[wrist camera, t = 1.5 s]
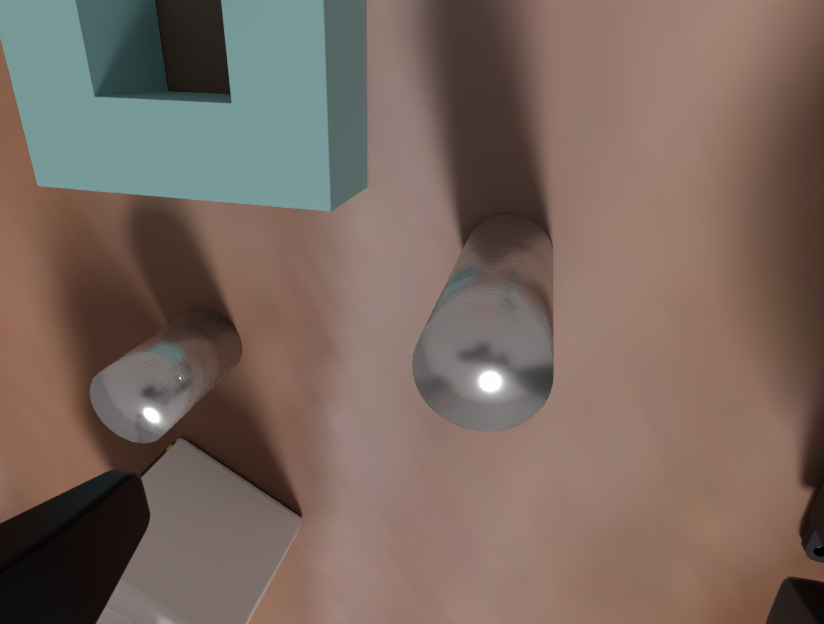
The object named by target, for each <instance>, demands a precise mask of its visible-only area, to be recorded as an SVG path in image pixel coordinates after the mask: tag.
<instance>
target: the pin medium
mask: <svg viewBox="0 0 824 624" xmlns="http://www.w3.org/2000/svg"><path fill="white" fill-rule="evenodd" d="M412 365H413V375H414V380H415V383H416V386H417V388H418V390H419V392H420V394H421V396H422V397H423V399H424V400H425V401H426V403H427V404H428V405H429V406H430V407H431V408H432V409H433V410H434V411H435V412H436V413H437V414H439V415H440V416H441V417H443V418H444V419H446V420H448V421H449V422H451V423H453V424H456V425H458V426H460V427H463V428H467V429H471V430H476V431H501V430H506V429H510V428H513V427H516V426H518V425H520V424H522V423H524V422H526V421H527V420H529V419H530V418H532V417H533V416H534V415H535V414H536V413H537V412H539V410H540V409H541V408H542V407H543V405H544V404H545V402H546V401H547V399H548V397H549V394H550V392H551V388H552V384H553V248H552V244H551V241H550V239H549V237H548V235H547V233H546V232H545V230H544V229H543V228H542V227H541V226H540V225H539V224H538V223H536V222H535V221H534V220H532V219H530V218H528V217H526V216H523V215H519V214H514V213H504V214H498V215H494V216H491V217H489V218H487V219H485V220H484V221H482V222H481V223H479V224H478V225H477V226H476V227H475V228H474V230H473V231H472V232H471V234H470V235H469V237H468V239H467V241H466V243H465V245H464V247H463V249H462V252H461V254H460V256H459V258H458V260H457V262H456V264H455V266H454V268H453V270H452V272H451V274H450V276H449V278H448V280H447V283H446V285H445V287H444V289H443V291H442V293H441V295H440V297H439V299H438V301H437V303H436V305H435V307H434V309H433V311H432V314H431V316H430V318H429V320H428V322H427V324H426V326H425V328H424V330H423V332H422V334H421V336H420V338H419V340H418V343H417V345H416V347H415V351H414V355H413V363H412Z"/></svg>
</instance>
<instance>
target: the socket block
mask: <svg viewBox="0 0 824 624" xmlns="http://www.w3.org/2000/svg"><path fill="white" fill-rule="evenodd" d="M221 4H222V13H223V23H224V33H225V43H226V53H227V63H228V72H229V82H230V92H231V94H218V93H195V92H173V91H168V86H167V80H166V73H165V66H164V59H163V52H162V45H161V38H160V31H159V24H158V18H157V11H156V4H155V0H0V38H1V42H2V46H3V50H4V54H5V58H6V62H7V66H8V70H9V74H10V78H11V82H12V86H13V90H14V94H15V98H16V102H17V105H18V109H19V113H20V117H21V121H22V125H23V129H24V133H25V137H26V141H27V145H28V149H29V153H30V157H31V161H32V165H33V169H34V173H35V177H36V181H37V185H38V186H43V187H55V188H66V189H78V190H90V191H101V192H113V193H124V194H136V195H147V196H159V197H170V198H182V199H193V200H205V201H217V202H228V203H240V204H251V205H263V206H274V207H286V208H297V209H309V210H320V211H332V210H334V209H335V208H337V207H338V206H340V205H341V204H343V203H344V202H346V201H347V200H349V199H350V198H352V197H353V196H355V195H356V194H358V193H359V192H361V191H362V190H364V189H365V188H367V112H366V0H221Z"/></svg>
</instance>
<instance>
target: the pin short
mask: <svg viewBox="0 0 824 624" xmlns="http://www.w3.org/2000/svg"><path fill="white" fill-rule="evenodd" d="M241 354H242V345H241V340H240V337H239V335H238V333H237V331H236V329H235V328H234V327H233V325H232V324H231V323H230V322H229V321H228V320H227V319H226V318H224V317H223V316H222V315H220V314H218V313H216V312H214V311H211V310H207V309H194V310H191V311H189V312H187V313H185V314H184V315H182V316H181V317H180V318H178V319H177V320H175V321H174V322H172V323H171V324H169V325H168V326H166V327H165V328H163V329H162V330H160V331H159V332H158V333H156V334H155V335H153V336H152V337H150V338H149V339H147V340H146V341H144V342H143V343H141V344H140V345H139V346H137V347H136V348H134V349H133V350H131V351H130V352H128V353H127V354H125V355H124V356H122V357H121V358H119V359H118V360H117V361H115V362H114V363H112V364H111V365H109V366H108V367H106V368H105V369H103V370H102V371H100V372H99V373H98V374H97V375H96V376H95V377H94V378H93V380H92V382H91V385H90V399H91V403H92V406H93V408H94V410H95V412H96V414H97V415H98V417H99V418H100V420H101V421H102V422H103V423H104V424H105V425H106V426H107V427H108V428H109V429H110V430H111V431H113V432H114V433H115V434H117V435H119V436H120V437H122V438H124V439H126V440H129V441H132V442H136V443H151V442H154V441H156V440H158V439H160V438H161V437H162V436H163V435H164V434H165V433H166V432H167V431H168V430H169V429H170V428H171V427H172V426H173V425H175V424H176V423H177V422H178V421H179V420H180V419H181V418H182V417H183V416H184V415H185V414H186V413H187V412H188V411H189V410H190V409H191V408H192V407H193V406H194V405H195V404H196V403H197V402H199V401H200V400H201V399H202V398H203V397H204V396H205V395H206V394H207V393H208V392H209V391H210V390H211V389H212V388H213V387H214V386H215V385H216V384H217V383H218V382H219V381H220V380H222V379H223V378H224V377H225V376H226V375H227V374H228V373H229V372H230V371H231V370H232V369H233V368H234V367H235V366H236V365H237V364H238V362H239V360H240V358H241Z"/></svg>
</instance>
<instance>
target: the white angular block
mask: <svg viewBox="0 0 824 624" xmlns="http://www.w3.org/2000/svg"><path fill="white" fill-rule="evenodd" d="M139 476H140V477H141V479H142V482H143V486H144V489H145V493H146V497H147V501H148V505H149V509H150V521H149V525H148V528H147V530H146V532H145V534H144V536H143V538H142V540H141V541H140V543H139V545H138V547H137V549H136V551H135V553H134V555H133V556H132V558H131V560H130V562H129V564H128V566H127V568H126V569H125V571H124V573H123V575H122V577H121V579H120V581H119V583H118V584H117V586H116V588H115V590H114V592H113V594H112V596H111V597H110V599H109V601H108V603H107V605H106V607H105V609H104V610H103V612H102V614H101V616H100V617H99V619H98V621H97V623H96V624H248V623H249V621H250V619H251V617H252V615H253V613H254V611H255V610H256V608H257V606H258V604H259V602H260V600H261V599H262V597H263V595H264V593H265V591H266V589H267V588H268V586H269V584H270V582H271V580H272V578H273V576H274V575H275V573H276V571H277V569H278V567H279V565H280V564H281V562H282V560H283V558H284V556H285V554H286V553H287V551H288V549H289V547H290V545H291V543H292V541H293V540H294V538H295V536H296V534H297V532H298V530H299V529H300V527H301V523H302V520H301V518H300V517H299V516H298V515H297V514H295V513H294V512H292V511H291V510H289V509H288V508H286V507H285V506H283V505H282V504H280V503H279V502H277V501H276V500H274V499H273V498H271V497H270V496H268V495H267V494H265V493H264V492H262V491H261V490H259V489H258V488H256V487H255V486H253V485H252V484H250V483H249V482H247V481H246V480H244V479H243V478H242V477H240V476H239V475H237V474H236V473H234V472H233V471H231V470H230V469H228V468H227V467H225V466H224V465H222V464H221V463H219V462H218V461H216V460H215V459H213V458H212V457H210V456H209V455H207V454H206V453H204V452H203V451H201V450H200V449H198V448H197V447H195V446H194V445H192V444H191V443H189V442H188V441H186V440H184V439H181V438H180V439H176V440H175V441H174V442H172V443H171V444H170V445H169V446H168V447H167V448H166V449H165V450H164V451H163V452H162V453H161V454H160V455H159V456H158V457H157V458H156V459H155V460H154V461H153V462H152V463H151V464H150V465H149V466H148V467H147V468H146V469H145V470H144V471H143V472H142V473H141V474H140V475H139Z"/></svg>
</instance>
